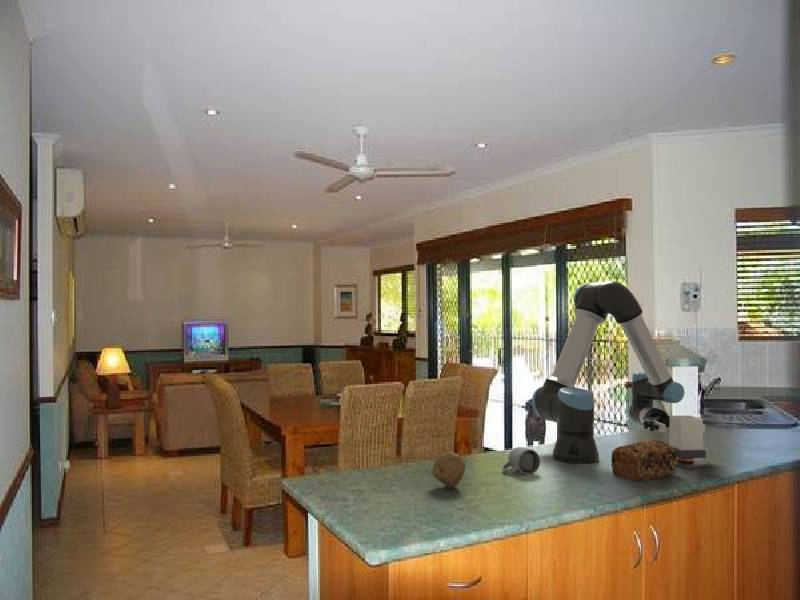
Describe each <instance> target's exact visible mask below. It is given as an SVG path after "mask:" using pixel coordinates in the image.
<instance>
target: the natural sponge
mask: <svg viewBox="0 0 800 600" xmlns="http://www.w3.org/2000/svg"><path fill="white" fill-rule="evenodd" d="M465 471H466V463H465V460H464V459H463V457H462V456H461V455H460V454H459V453H456V452H453V451H446V452H443V453H441V454H440V455H438V456H437V458H436V460H435V461H434V464H433V466H432V475H433V477H434V479H436V480H437V481H439V482H440V483H442V484H443V485H444V486H445V487H447V488H449V489H450V488H451V489H452V488H454V487H457V486H458V484H459V483H460V482H461V481H462V479H463V477H464V474H465Z"/></svg>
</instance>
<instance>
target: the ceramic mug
mask: <svg viewBox="0 0 800 600" xmlns="http://www.w3.org/2000/svg"><path fill="white" fill-rule="evenodd" d="M507 458H508V459H507V460H508V462H506V463H504V464H503V465H502V467H501V470H502V471H503V473H504V474H507V475H508V474H513V473H515V472H520V473H522V475H527V476H531V475H533V474H535V473H537V471H538V470H539V469H540V465H541V458H540V455H539V453H538V452H537V451H535V450H534V449H532V448H527V447H523V446H522V447H521V446H517V447H514V448H512V449H511V451H510V452H509V454H508V457H507Z"/></svg>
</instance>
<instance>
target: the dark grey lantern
mask: <svg viewBox="0 0 800 600" xmlns="http://www.w3.org/2000/svg"><path fill="white" fill-rule="evenodd" d="M676 458H677V463H676V465H675V466H676V467H677V466H678V468H681V469H685V470H690V469H691V468H693V469H698V468H697V467H700V468H705V466H707V467H710V462H706V461H702V460H698V459H695V458H678V457H676Z"/></svg>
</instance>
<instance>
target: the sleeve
mask: <svg viewBox="0 0 800 600" xmlns="http://www.w3.org/2000/svg"><path fill="white" fill-rule="evenodd" d="M669 416H670V425H669V427H668V428H669V433H668V435H669V436H668V437H669V438H668V439H669V444H668V445H669V446H671V447H674V448H677V449H679V450H704V448H703V447H704V445H703V444H704V439H703V438H704V437H703V434H704V433H703V424H704V419H703V418H700V417H697V416H694V415H669Z"/></svg>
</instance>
